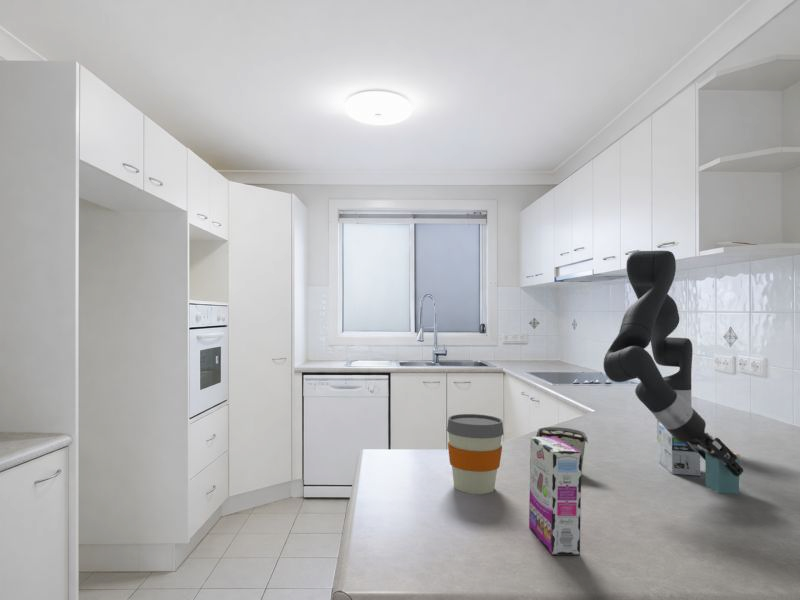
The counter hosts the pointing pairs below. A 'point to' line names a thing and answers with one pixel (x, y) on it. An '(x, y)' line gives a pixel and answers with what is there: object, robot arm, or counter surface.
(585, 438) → the food container
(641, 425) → the counter surface
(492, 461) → the reusable coffee cup
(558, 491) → the candy bar box
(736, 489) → the tea tin
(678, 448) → the light bulb box
